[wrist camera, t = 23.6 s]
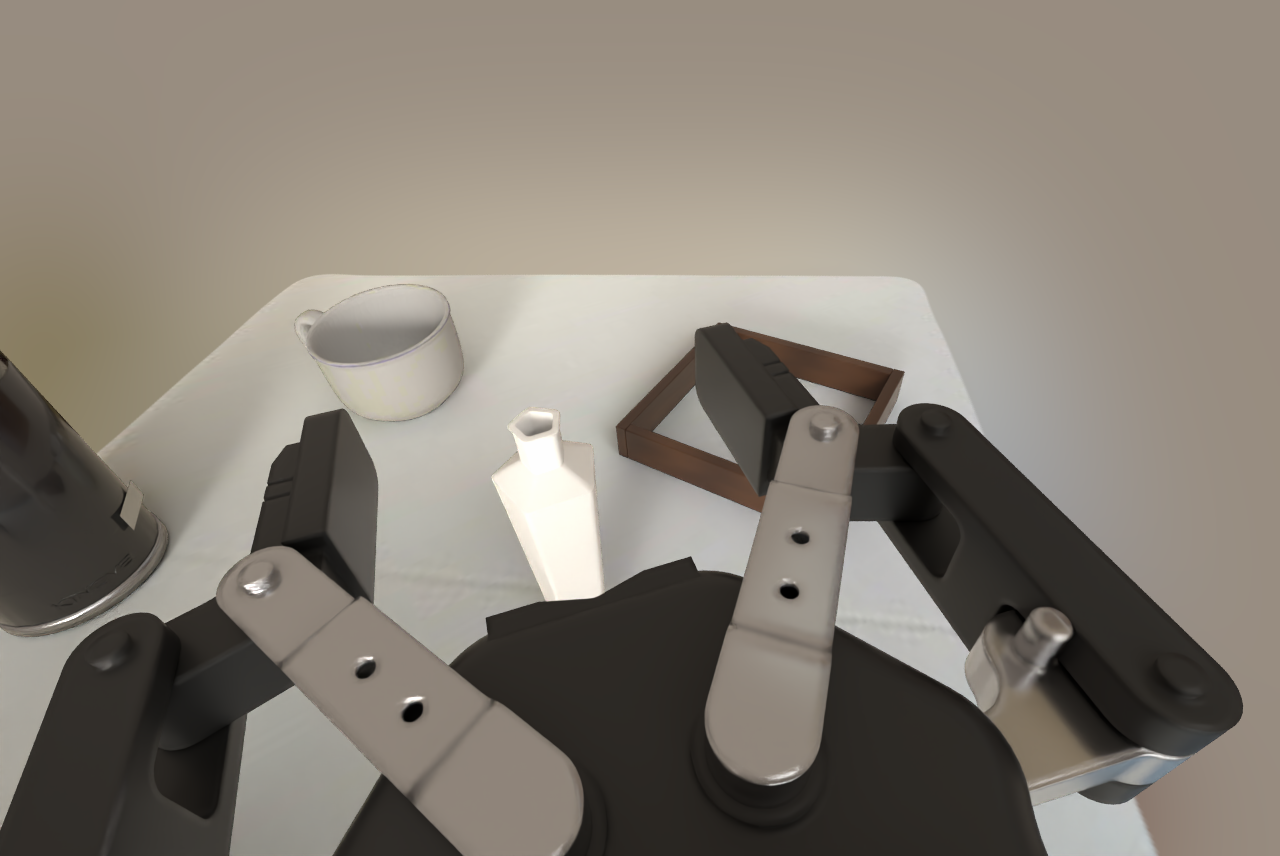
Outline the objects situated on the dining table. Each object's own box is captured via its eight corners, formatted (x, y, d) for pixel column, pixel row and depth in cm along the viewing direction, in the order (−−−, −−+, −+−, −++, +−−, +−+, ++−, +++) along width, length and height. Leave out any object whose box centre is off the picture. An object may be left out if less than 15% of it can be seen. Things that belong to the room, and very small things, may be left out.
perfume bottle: (607, 576, 36) (572, 375, 26) (634, 637, 33) (605, 436, 23) (534, 604, 35) (468, 405, 25) (554, 670, 32) (488, 473, 22)
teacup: (499, 378, 52) (476, 297, 47) (409, 457, 45) (371, 371, 40) (387, 345, 58) (356, 268, 53) (292, 410, 51) (245, 329, 46)
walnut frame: (619, 454, 44) (615, 426, 42) (717, 349, 53) (718, 322, 52) (824, 539, 37) (831, 509, 35) (896, 400, 46) (905, 371, 45)
